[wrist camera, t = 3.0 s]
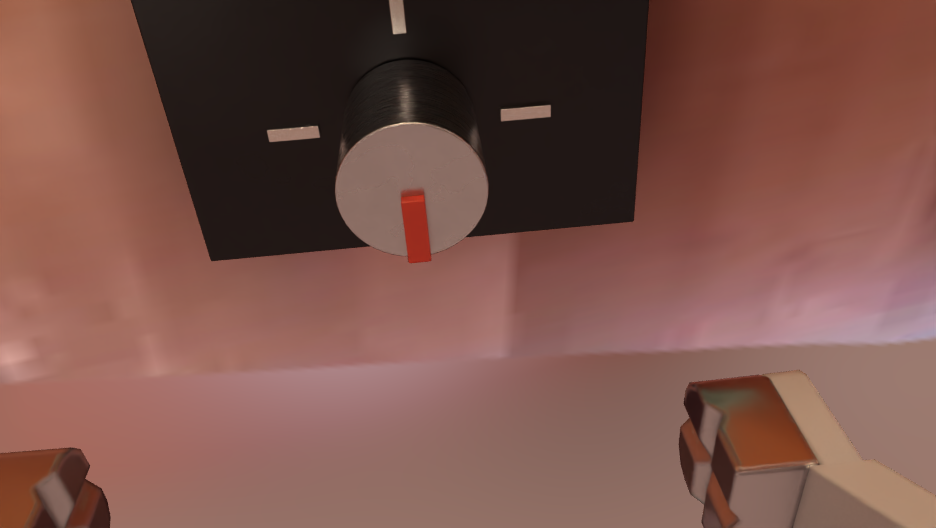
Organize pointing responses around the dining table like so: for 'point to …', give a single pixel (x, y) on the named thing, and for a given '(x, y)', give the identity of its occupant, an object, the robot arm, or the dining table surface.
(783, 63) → the dining table surface
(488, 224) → the black dial base
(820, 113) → the dining table surface
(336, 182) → the rotary knob
